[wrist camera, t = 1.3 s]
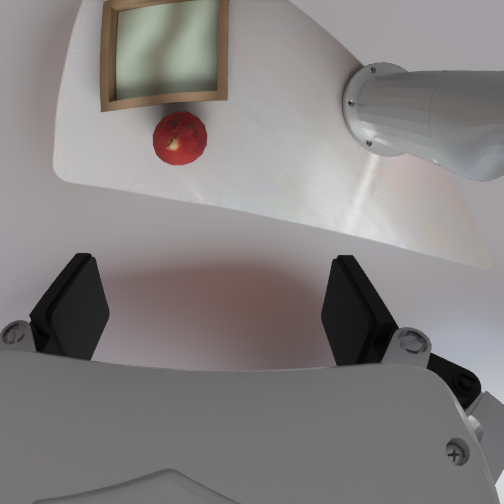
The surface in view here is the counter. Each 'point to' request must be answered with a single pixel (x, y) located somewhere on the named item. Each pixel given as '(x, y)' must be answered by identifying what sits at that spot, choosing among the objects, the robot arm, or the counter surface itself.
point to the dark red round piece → (179, 138)
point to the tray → (163, 52)
